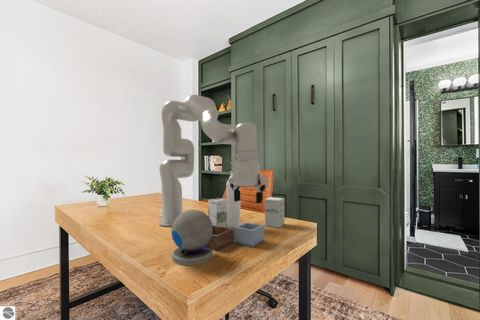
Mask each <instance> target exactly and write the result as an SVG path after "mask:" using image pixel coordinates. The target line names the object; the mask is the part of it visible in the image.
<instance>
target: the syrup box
mask: <svg viewBox="0 0 480 320" xmlns="http://www.w3.org/2000/svg"><path fill="white" fill-rule="evenodd" d="M207 201H208V202H207V203H208V209H207V210H208V212H207V213H208V215H207V216H208V217H209V218H210V220H211V222H212V226H213V225H215V226H221V227H226V228H228V226H227V198H226V199H225V198H220V197H217V198H211V199H207Z"/></svg>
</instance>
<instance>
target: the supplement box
mask: <svg viewBox="0 0 480 320" xmlns="http://www.w3.org/2000/svg"><path fill="white" fill-rule="evenodd" d="M283 224H284V225H285V197H284V198H283V197H271V196H269V197H267V198H265V199H264V227H271V228H272V227H273V228H278V227H279V229H280V228H281V227H283V226H284V225H283ZM282 225H283V226H282Z"/></svg>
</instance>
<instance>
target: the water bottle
mask: <svg viewBox="0 0 480 320" xmlns="http://www.w3.org/2000/svg"><path fill="white" fill-rule="evenodd" d="M231 177H233V172H230V176H229V177H228V179H230V178H231ZM225 185H226V200H227V228H231V229H235V227H236V226H239V225H241V224H242V222H241V219H242V218H241V217H242V216H241V210H242V208H241V200H240V201H237V202H235V201H234V191H233V190H232V188H231V186H230V184H229V181H228V180H227V181H226V184H225ZM239 190H240V191H241V188H240V189H239Z"/></svg>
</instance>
